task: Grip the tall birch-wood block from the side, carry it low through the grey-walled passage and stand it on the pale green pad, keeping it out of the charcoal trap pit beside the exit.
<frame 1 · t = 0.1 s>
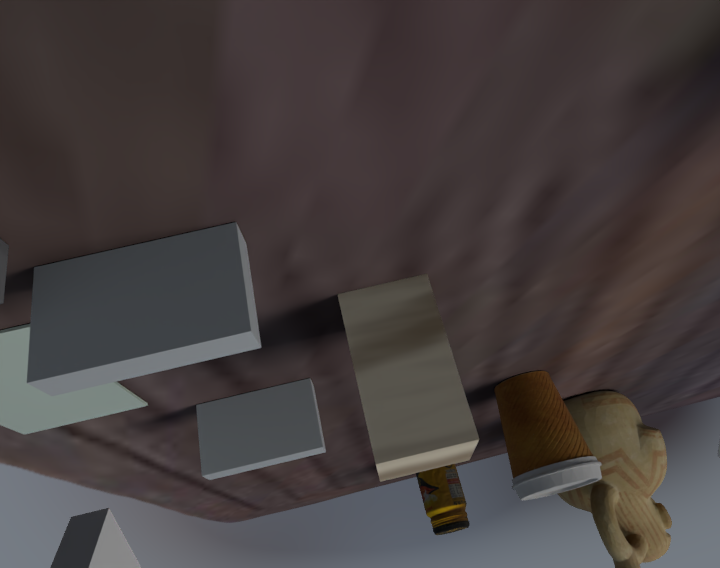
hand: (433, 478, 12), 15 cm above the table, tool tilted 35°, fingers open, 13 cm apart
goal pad: (27, 387, 39), on the table
disposable coffee cup: (520, 379, 65), on the table
birch block: (383, 304, 40), on the table
ceramic vessel: (577, 402, 82), on the table
walled passage: (215, 343, 39), on the table
condiment: (434, 445, 87), on the table
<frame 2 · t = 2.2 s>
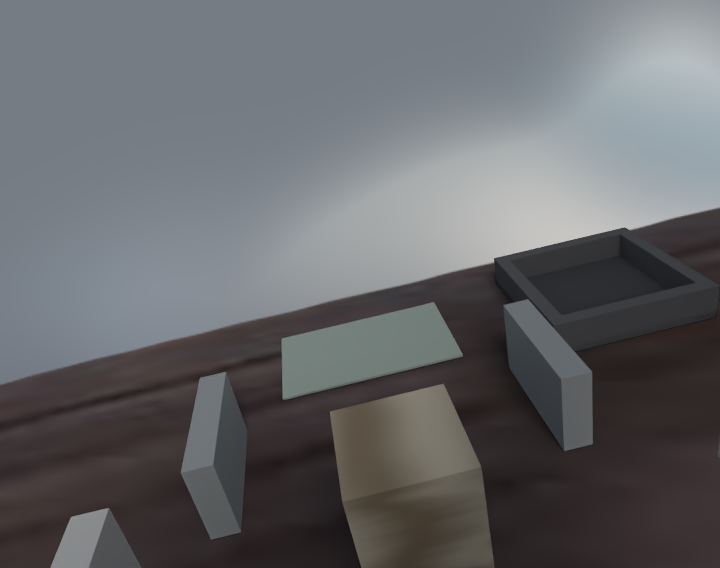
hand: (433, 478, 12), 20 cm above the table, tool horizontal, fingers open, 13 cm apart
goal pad: (365, 347, 54), on the table
trap pit: (594, 298, 54), on the table
walled passage: (390, 440, 42), on the table
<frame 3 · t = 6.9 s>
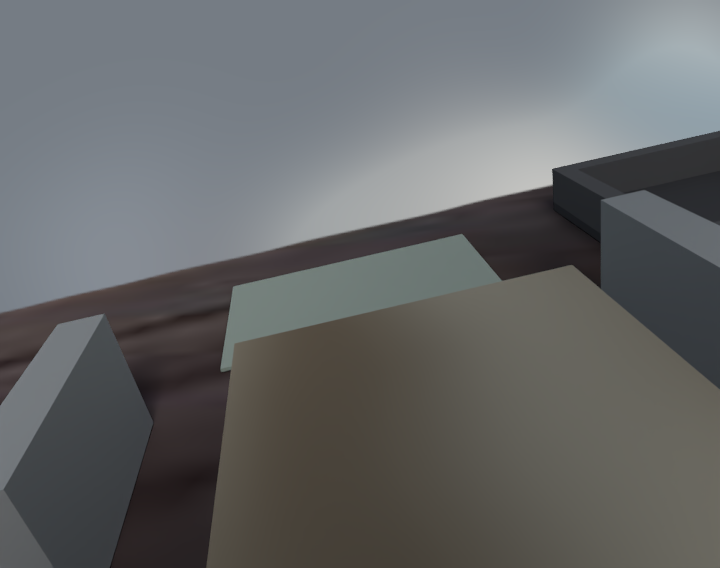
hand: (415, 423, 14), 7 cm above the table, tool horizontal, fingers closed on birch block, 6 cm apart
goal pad: (358, 295, 34), on the table
trap pit: (716, 219, 34), on the table
walled passage: (401, 438, 23), on the table
when the fingers open (7 cm above the table, at t = 13.7 s): birch block stays where it is, resting on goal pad.
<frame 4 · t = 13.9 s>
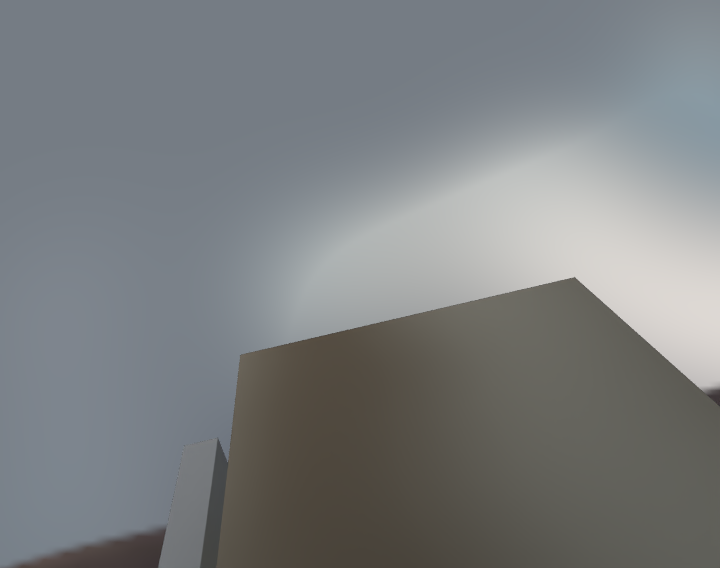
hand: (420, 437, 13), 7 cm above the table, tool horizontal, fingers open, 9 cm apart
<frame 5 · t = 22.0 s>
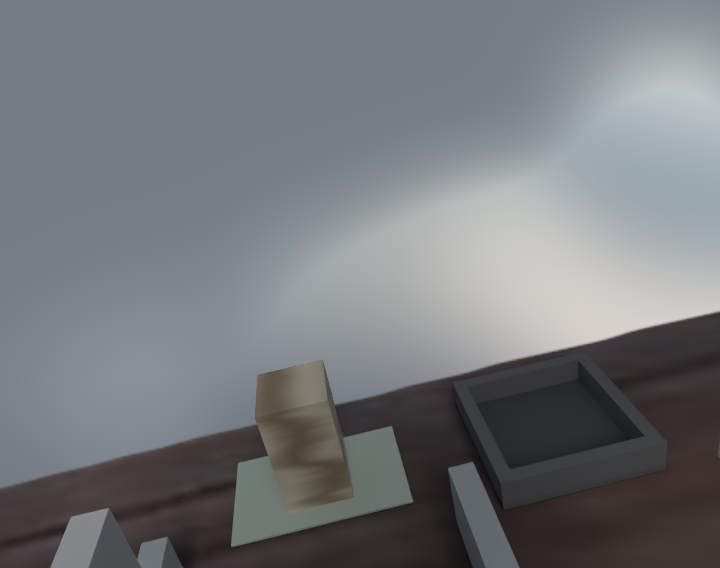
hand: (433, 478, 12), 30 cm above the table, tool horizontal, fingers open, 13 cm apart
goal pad: (319, 482, 53), on the table
trap pit: (548, 434, 53), on the table
birch block: (318, 480, 53), resting on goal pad
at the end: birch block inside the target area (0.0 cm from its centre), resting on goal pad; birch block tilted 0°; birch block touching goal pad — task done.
